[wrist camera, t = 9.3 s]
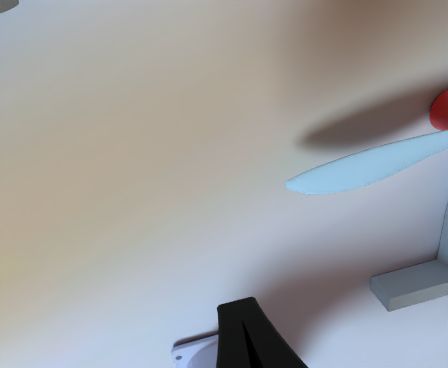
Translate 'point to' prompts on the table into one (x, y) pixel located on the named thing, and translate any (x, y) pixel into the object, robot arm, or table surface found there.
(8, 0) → the figurine character
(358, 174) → the propeller
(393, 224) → the table surface
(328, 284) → the table surface
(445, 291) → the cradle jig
